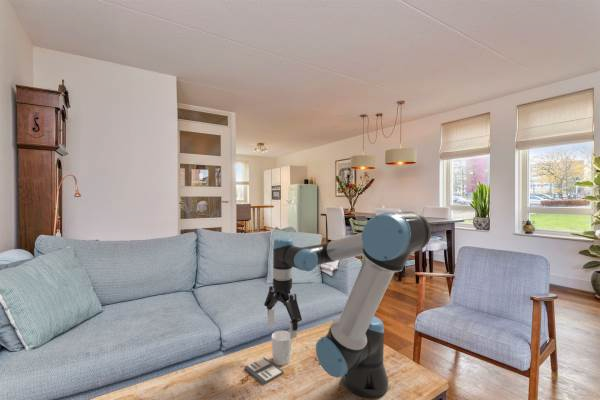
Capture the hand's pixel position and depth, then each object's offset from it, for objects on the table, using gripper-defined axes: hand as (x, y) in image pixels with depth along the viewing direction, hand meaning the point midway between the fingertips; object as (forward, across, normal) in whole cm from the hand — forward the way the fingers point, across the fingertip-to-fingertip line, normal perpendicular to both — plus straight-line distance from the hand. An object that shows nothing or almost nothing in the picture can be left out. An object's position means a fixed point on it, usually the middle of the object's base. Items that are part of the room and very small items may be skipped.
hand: (281, 331), depth 113 cm
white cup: (+12, -1, 0) cm, 12 cm away
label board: (+11, -2, +10) cm, 15 cm away
